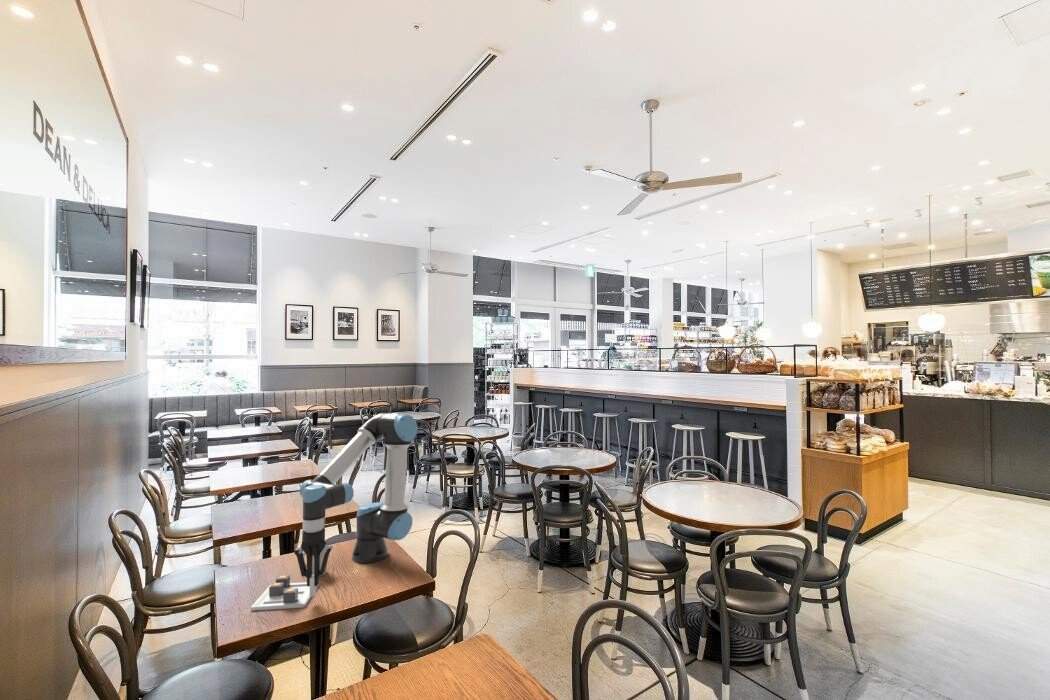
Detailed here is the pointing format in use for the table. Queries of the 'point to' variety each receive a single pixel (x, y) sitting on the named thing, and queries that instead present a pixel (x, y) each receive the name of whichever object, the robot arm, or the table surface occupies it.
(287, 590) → the block
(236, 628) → the table surface
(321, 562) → the mug
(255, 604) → the panel
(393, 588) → the table surface
